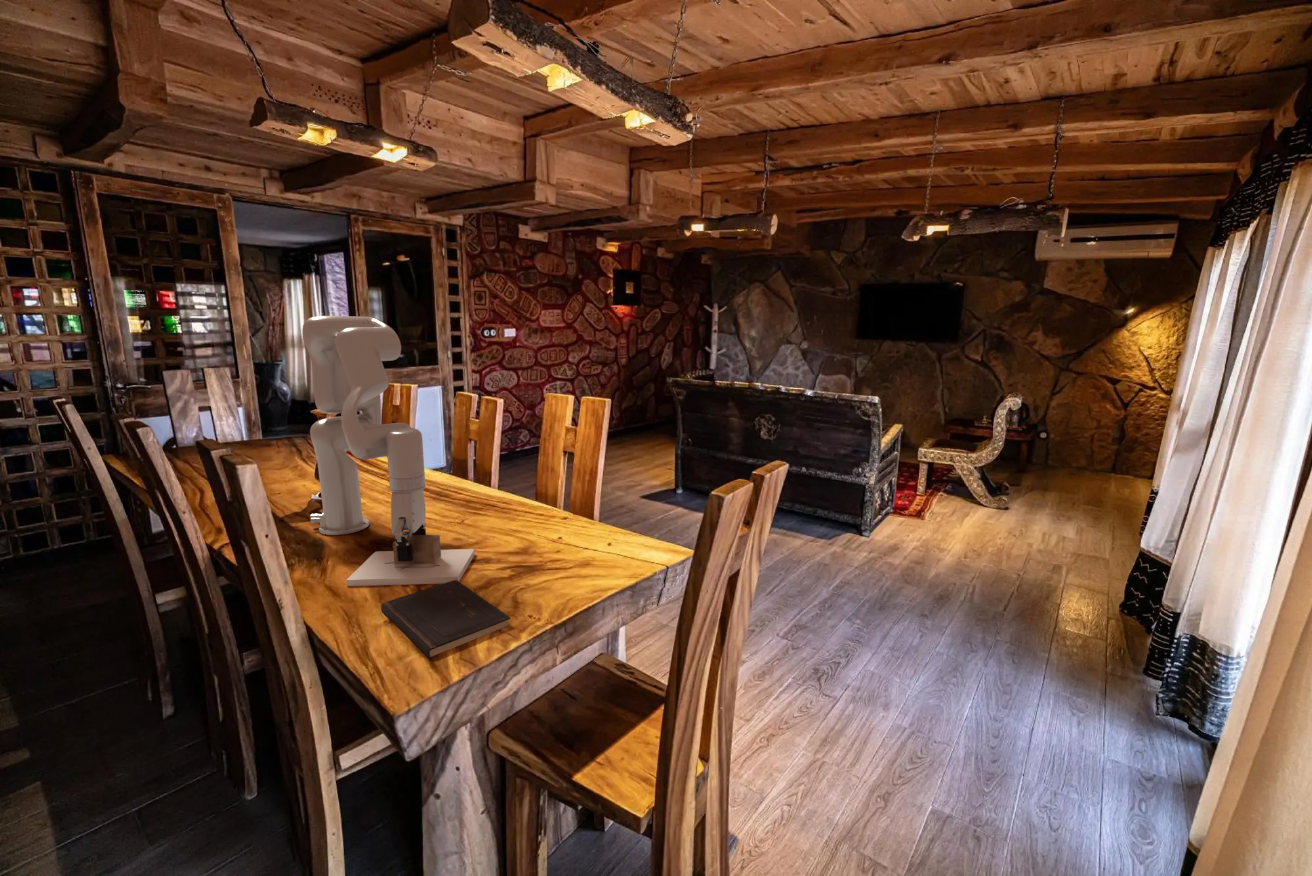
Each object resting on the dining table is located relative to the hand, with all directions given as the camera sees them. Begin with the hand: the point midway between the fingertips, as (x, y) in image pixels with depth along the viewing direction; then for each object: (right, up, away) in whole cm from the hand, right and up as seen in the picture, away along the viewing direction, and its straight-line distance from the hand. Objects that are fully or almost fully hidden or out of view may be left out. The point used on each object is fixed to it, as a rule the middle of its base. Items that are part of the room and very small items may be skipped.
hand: (412, 552), depth 134 cm
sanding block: (+1, -3, 0) cm, 3 cm away
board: (0, -4, +1) cm, 4 cm away
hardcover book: (+16, -9, -21) cm, 28 cm away
